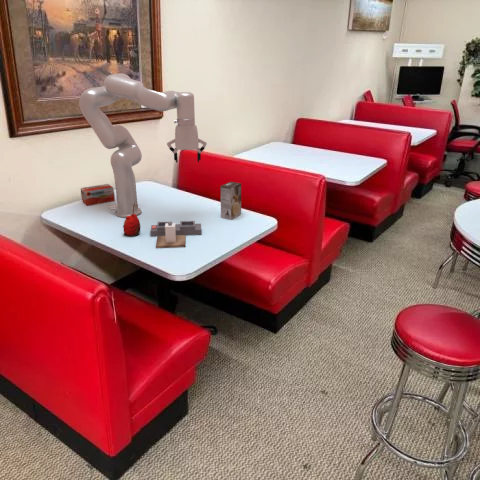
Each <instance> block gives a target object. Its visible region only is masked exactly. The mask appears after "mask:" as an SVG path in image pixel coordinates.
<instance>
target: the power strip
mask: <svg viewBox="0 0 480 480" xmlns="http://www.w3.org/2000/svg"><path fill="white" fill-rule="evenodd" d="M168 222H169V221H157V224H151V226H150V233H149V234H150V238H151V237H157V236H166V235H165V224H166V223H168ZM195 222H196V221H195V220H181V221H180V222H179V223H177V224H176V223H175V228H176V235H185V236H202V224H201V223H195Z"/></svg>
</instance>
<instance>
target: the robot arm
mask: <svg viewBox="0 0 480 480" xmlns="http://www.w3.org/2000/svg"><path fill="white" fill-rule="evenodd" d="M121 98H122V99H123V98H124V99H127V100H130V101H133V102H136V103H137V104H138V105H141V106H143V107H145V108H147V109H150V110H154V111H158V112H168V111H170V110H174V109H176V119H174V120H173V123H174V124H176V126H175V130H174V131H175V132H174V139H172V140H170V141H168V142H166V145H167V147H168V148H169V150H170V152H171V153H172V154H173V160H174V161H175V163H177V164H178V161H179V160H178V159H179V157H178V151H182V150H183V151H188V150H190V151H192V150H193V151H197V152H196V156H197V158H196V159H197V160H196V161H197V163H200V160H202V159H201V157H202V156H201V153H202V152H203V151H204V150H205V148H206V146H207V144H208V143H207V142H206V141H204V140H202V139H201V138H199V132H198V127H197V125H196V120H195V119H196V118H195V96H194V93H193V92H191V91H189V92H188V91H185V92H184V91H183V92H182V91H181V92H180V91H175V90H165V91H161V92H159V91H156V90H152V89H149V88H146V87H145V85H144V84H143V82H142V81H139V80H136V79H132V78H131V77H130V76H129V75H127V74H126V73H114V74H113V73H112V74H109V75H107V76H106V77H105V78H104V80H103V86H97V87H90V88H87V89H85V90H84V91H82V93H81V94H80V96H79V101H78V102H79V104H78V105H79V109H80V110H79V111H80V112H81V114H82V116H83V117H84V119H85V120H86V121H87V123H88V124H89V125H90V127H91V128H92V130H93V131H94V133H95V135H96V136H97V137H98V138H97V139H99V141H100V143H101V144H102V146H103V147H104V148H106V149H108V150H112V149H115V148H118V149H117V150H115V151H113V153H112V154H111V155H110V165H111V169H112V172H113V179H114V185H115V193H116V204H115V205H108V210H110V211H114V213H115V214H114V215H115V216H116V217H120V218H126V217H127V216H130V215H132V213H133V211H132V210H133V205H134V203H135V205H138V197H137V196H138V195H137V184H136V176H135V173H134V170H133V167H134V166H136V165H137V164H139V163H140V162H141V161H142V157H143V155H142V152H141V149H140V147H139V146H138V144H137V142H136V140H135V139H134V137H133V136H132V134H131V132H130V131H129V129H127V128H126V127H125V126H123V125H120V124H117V125H114V124H112V122H111V121H110V119H109V117H108V116H107V115H106V114H105V113H104V112H103V111H102V110H101V109H100V108H102V107H106V106H110V105H112V104H114V103H115V102H117V101H118V100H120V99H121ZM173 144H174V145H175V146H174V147H175V148H174V147H173V146H172V145H173ZM199 144H201V145H202V146H201V147H200V146H199ZM131 204H132V205H131ZM134 214H136V216H137V217H138V216H139V215H140V214H142V208H140V207H139V205H138V206H134Z"/></svg>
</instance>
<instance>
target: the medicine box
mask: <svg viewBox="0 0 480 480" xmlns="http://www.w3.org/2000/svg"><path fill="white" fill-rule="evenodd" d="M80 196H81V201H82V202H83V204H85V206H87V207H90V206H95V205H101V204H107V203H112V202H115V201H116V200H115V190H114V186H112V185H111V184H109V183H105V184H98V185H90V186H83V187H80Z"/></svg>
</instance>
